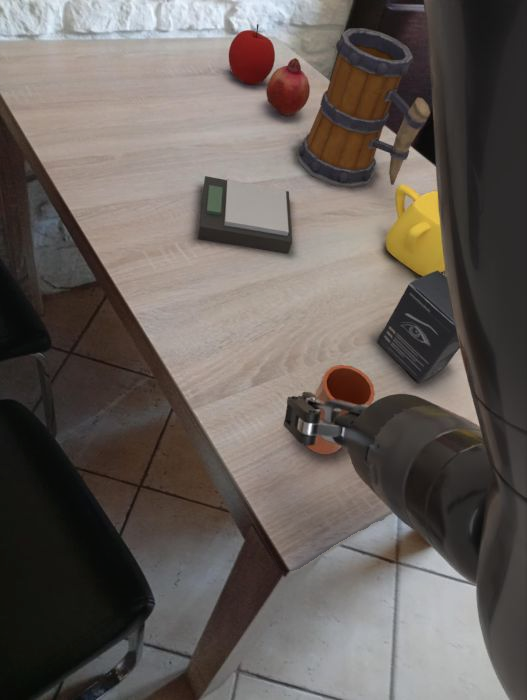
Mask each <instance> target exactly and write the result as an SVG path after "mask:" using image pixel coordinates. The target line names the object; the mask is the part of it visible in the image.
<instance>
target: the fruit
mask: <svg viewBox="0 0 527 700" xmlns="http://www.w3.org/2000/svg"><path fill="white" fill-rule="evenodd" d="M301 67H302V66H301V64H300V61H299V59H298V58H296V57H294V58H292V59H290V60H289V61H288V63H287V65H283V66H280V67H278V68H276V69H275V70H274V72H273V73H272V74H271V76H270V78H269V80H268V82H267V86H266V89H265V90H266V93H265V94H266V98H267V102H268V103H269V105H270V106H271V107H272V108H273V109H274V110H276V111H277V113H279V114H280V115H283V116H290V115H294V114H296V113H297V112H299V111H301V110H302V109H303V108H305V107H304V106H306V104H307V102H308V101H309V98H310V93H311V89H310V88H311V87H310V82H309V79H308V77H307V76H306V74H305V73H304V71H303V70H302V68H301Z"/></svg>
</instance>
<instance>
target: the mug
mask: <svg viewBox="0 0 527 700" xmlns="http://www.w3.org/2000/svg"><path fill="white" fill-rule="evenodd" d="M335 45H336V47H335V48H336V50H337V52H338V53H337V58H336V61H335V64H334V67H333V70H332V74H331V76H330V80H329V84H328V86H327V89H326V90H325V91H324V92H323V94H322V97H321V101H320V107H319V109H318V112H317V115H316V117H315V119H314V121H313V124H312V126H311V129H310V131H309V132H308V134H307V135H306V136H305V137H304V138H303V141H302V143H301V144H300V145H299V146H298V147H297V148H296V157H297V161H298V164H299V165H301V167H302V168H303V169H304V170H305V171H306V172H307V173H308V174H309V175H310V176H311V177H314V178H315V179H317V180H320V181H322V182H324V183H326V184H329V185H331V186H338V187H342V188H343V187H344V188H350V189H352V188H356V187H361V186H366V185H368V184H369V182H370V181H371V180H372V179H373V177H374V176H375V174H376V172H375V169H374V167H375V166H376V164H377V160H376V158H375V155H376V152H377V149H379V150H381V151H384V152H386V153H388V154H389V156H390V161H389V169H388V170H389V171H388V175H389V182H390V185H391V186H394V185H395V182H396V180H397V178H398V174H399V173H400V170H401V167H402V165H403V163H404V161H406V160H407V159H408V157H409V154H410V148H411V146H412V143H413V142H414V140H415V139H416V137H417V136H418V134H419V132H420V130H422V129H423V127H424V126H425V124H426V123H427V121H428V119H429V117H430V115H431V109H430V106H429V104H428V103H427V102H426V100H425V99H424V98H422V97H416V99H415V100H414V102H413V103H412V105H411V106H409V103H407V102H406V101H405V100H404V99H403V98H402V97H401V96H400V95H399V94H398V92H397V91H398V88H399V85H400V82H401V80H402V78H403V76H406V74H408V72H409V68H410V66H411V65H412V63H413V58H414V56H413V54H412V52H411V50H410V48H409V46H407V45H406V44H404V43H402V42H401V41H400V40H398V39H397V38H395V37H392V36H390V35H388V34H385V33H383V32H380V31H377V30H373V29H368V28H362V27H360V28H359V27H357V28H353V27H352V28H348V29H347V30H345V31H344V32H342V33H341V35H340V39H339V40H338V41H336V44H335ZM392 103H393V105H395V106H396V108H398V109H399V110H400V111H401V113H402V114H403V120H402V122H401V124H400V127H399V128H398V131H397V133H396V135H395V139H394V142H393V145H392V144H390V143H387V142H385V141H381V140H380V138H381V136H382V132H383V129H384V127H385V126H386V123H387V122H388V119H389V116H390V113H389V110H390V107H391V105H392Z"/></svg>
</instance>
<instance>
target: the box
mask: <svg viewBox="0 0 527 700" xmlns="http://www.w3.org/2000/svg"><path fill="white" fill-rule="evenodd" d="M377 343H379V345H380V346H381V347H382V348H383V349H384V350H385V351H386V352H387V353H388V354H389V355H390V356H391V357H392V358H394V359H395V361H396V362H397V363H398V364H399V365H400V366H401V367H402V368H403V369H404V370H405V371H406V372H407V373H408V374H409V375H410V376H411V377H412V378H413V379H414V381H416V382H417V383H418V384H420V383H422V382H423V381H425V380H427V379H429V378H430V377H432V376H434V375H435V374H437V373H438V372H440V371H442V370H443V369H445V368H446V367H447V366H448V364H449V363H450V361H452V359H453V357H455V355H456V354H457V353H458V351H459V350H460V346H459V342H458V338H457V333H456V328H455V323H454V319H453V314H452V309H451V303H450V297H449V291H448V284H447V278H446V275H444V274H443V273H442V272H441V273H440V272H439V271H435V272H432V273H430V274H427V275H425V276H420V277H419V278H417V279H415V280H413V281H411V282H410V283H408V285H407V287H406V288H405V290H404V292H403V294H402V296H401V297H400V299H399V301H398V303H397V305H396V307H395V308H394V310H393V312H392V314H391V315H390V317H389V319H388V321H387V322H386V324H385V326H384V328H383V329H382V331H381V333H380V334H379V335H378V338H377Z"/></svg>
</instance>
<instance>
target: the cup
mask: <svg viewBox="0 0 527 700" xmlns="http://www.w3.org/2000/svg"><path fill="white" fill-rule="evenodd" d="M374 386H375V385H374V384H373V382H372V380H371V378H370V377H369V376H368V375H367V374H366V373H364V372H363V371H362V370H361V369H358V368H357V367H354V366H352V365H346V364H338V365H334V366H333V365H332V366H331V367H330V368H329V369H327V370H326V371H325V372H324V374H323V376H322V378H321V380H320V382H319V384H318V386H317V388H316V389H315V392H314V393H313V394H314V395H315V396H316V397H317V398H319V399H320V400H323V401H326V402H327V401H328V400H335V399H340V400H343V401H347V402H350V403H354V404H357V405H363V404H368V405H371V404H372V403H374V399H375V396H376V393H375V387H374ZM319 410H321V414H320V419H323V420H324V414H325V412H324V410H323V409H320V408H319ZM347 412H349V411H345V410H342V409H341V412H340V415H343V414H345V413H347ZM306 448H308V449H309V450H311V452H314V453H316V454H319V455H330V454H334V453H336V452H337V451H339V450H340V449H341V448H342V446H339V445H337V444H334V443H331V442H328V441H325V440H323V439H322V437H321V436H317V439H316V441H315V445H310V446H306Z"/></svg>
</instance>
